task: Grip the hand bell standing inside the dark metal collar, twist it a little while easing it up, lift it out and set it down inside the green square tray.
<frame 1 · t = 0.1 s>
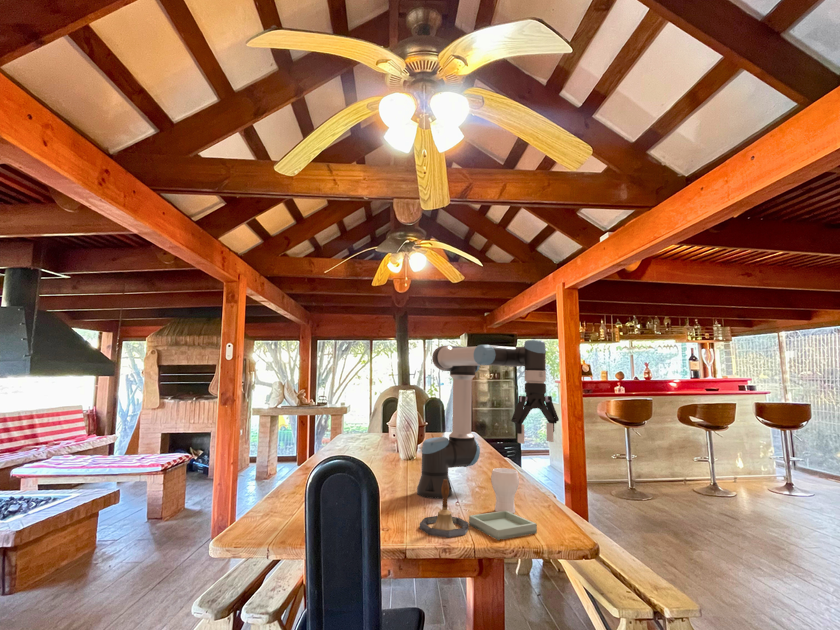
hand: (535, 442, 159), 28 cm above the table, tool pointing down, fingers open, 13 cm apart
green square tray: (502, 528, 150), on the table
cup: (505, 511, 170), on the table
collar: (444, 528, 149), on the table
hand bell: (444, 529, 149), resting in collar
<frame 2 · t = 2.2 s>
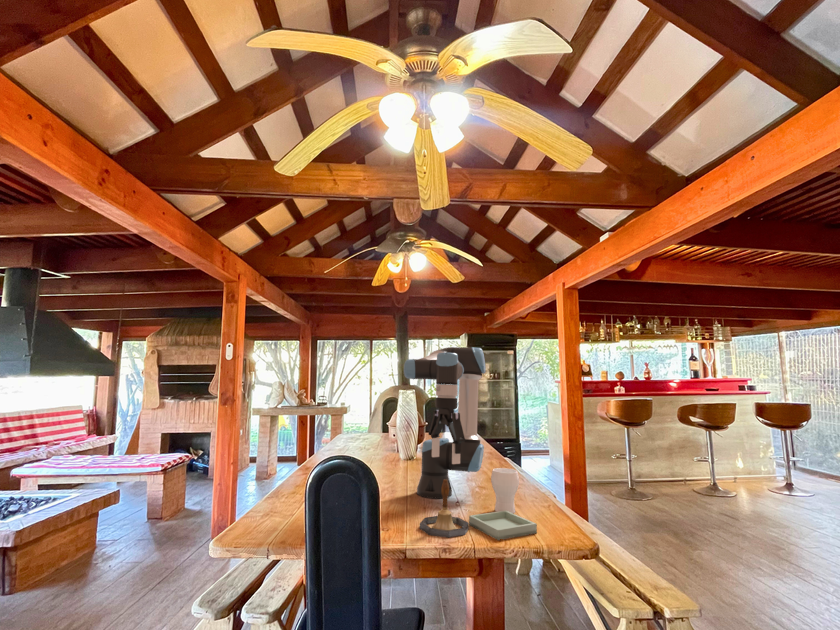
hand: (445, 460, 152), 22 cm above the table, tool pointing down, fingers open, 13 cm apart
nothing on the table moved.
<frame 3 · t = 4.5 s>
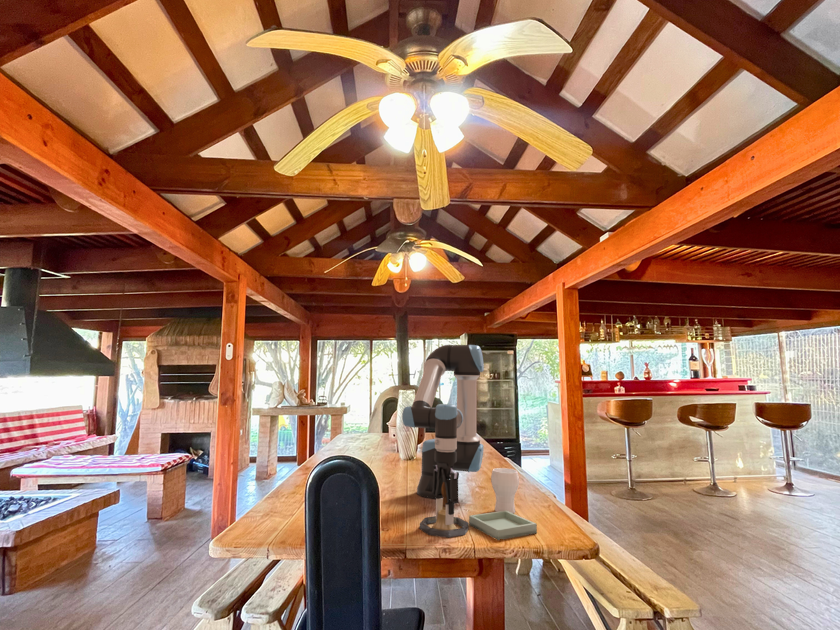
hand: (444, 521, 149), 2 cm above the table, tool pointing down, fingers closed on hand bell, 6 cm apart
hand bell: (444, 529, 149), resting in collar, touching gripper
everything else where it was.
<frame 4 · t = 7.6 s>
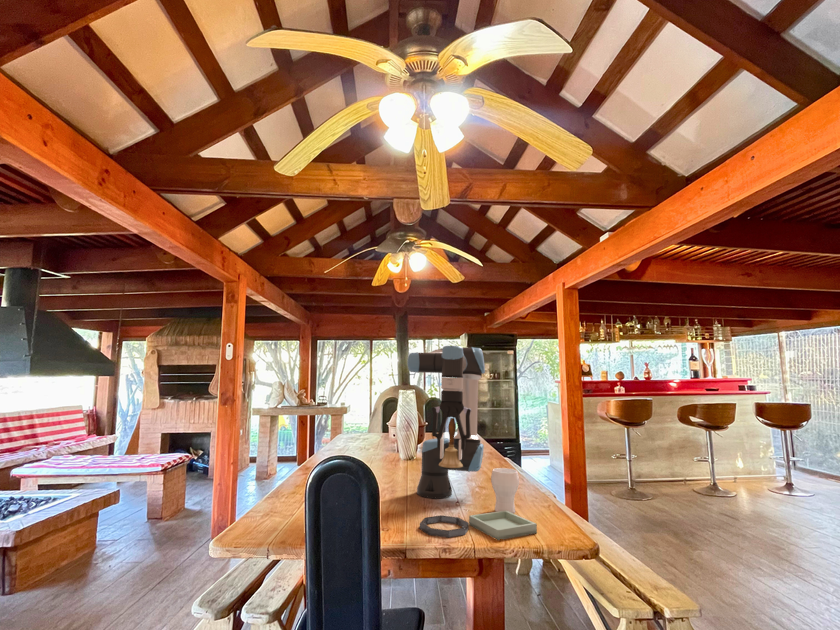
hand: (450, 458, 152), 23 cm above the table, tool pointing down, fingers closed on hand bell, 6 cm apart
hand bell: (450, 466, 152), point 20 cm above the table, touching gripper
everything else where it was.
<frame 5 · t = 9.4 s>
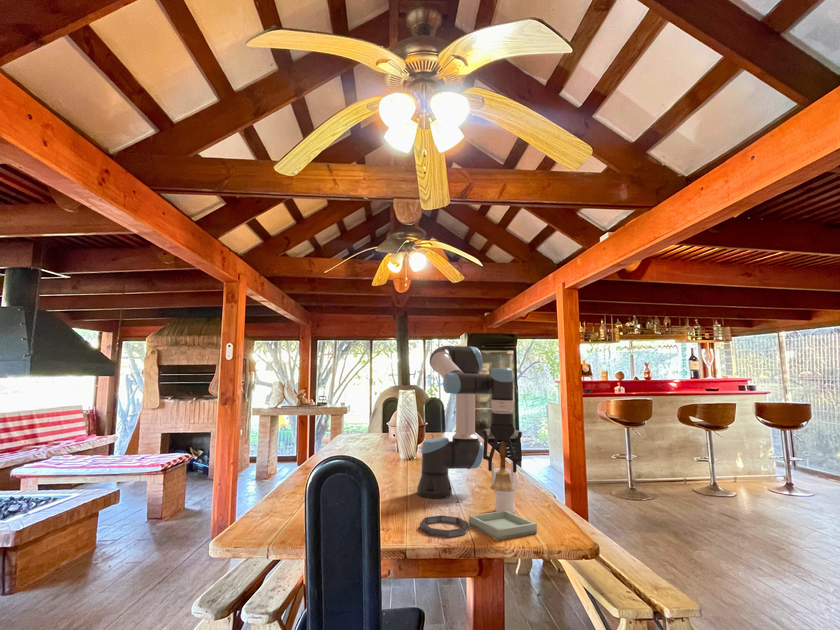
hand: (502, 481, 152), 15 cm above the table, tool pointing down, fingers closed on hand bell, 6 cm apart
hand bell: (502, 489, 151), point 13 cm above the table, touching gripper
everything else where it was.
when the fingers open (5 cm above the table, at t = 11.1 s): hand bell drops 1 cm, resting on green square tray.
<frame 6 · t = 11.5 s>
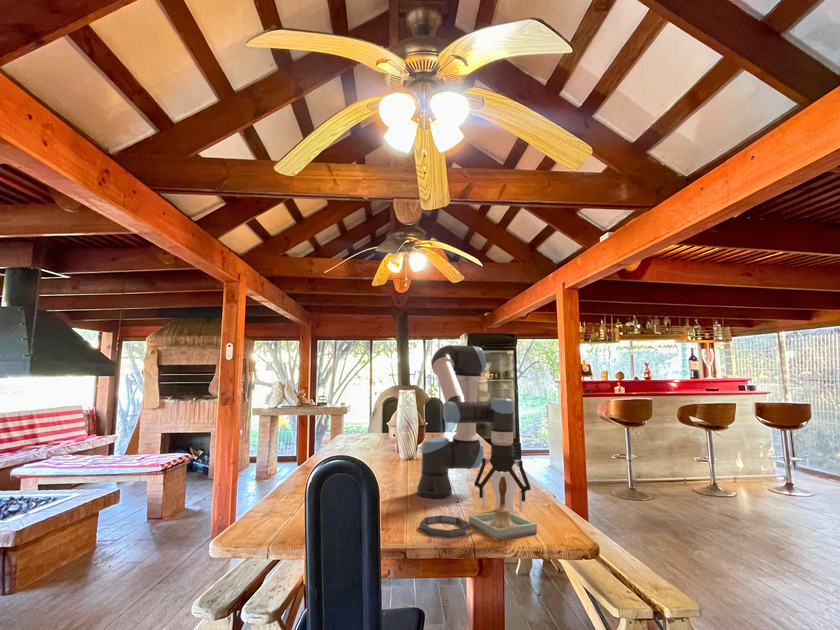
hand: (502, 509, 151), 6 cm above the table, tool pointing down, fingers open, 11 cm apart
hand bell: (502, 526, 150), point 1 cm above the table, touching green square tray
everything else where it was.
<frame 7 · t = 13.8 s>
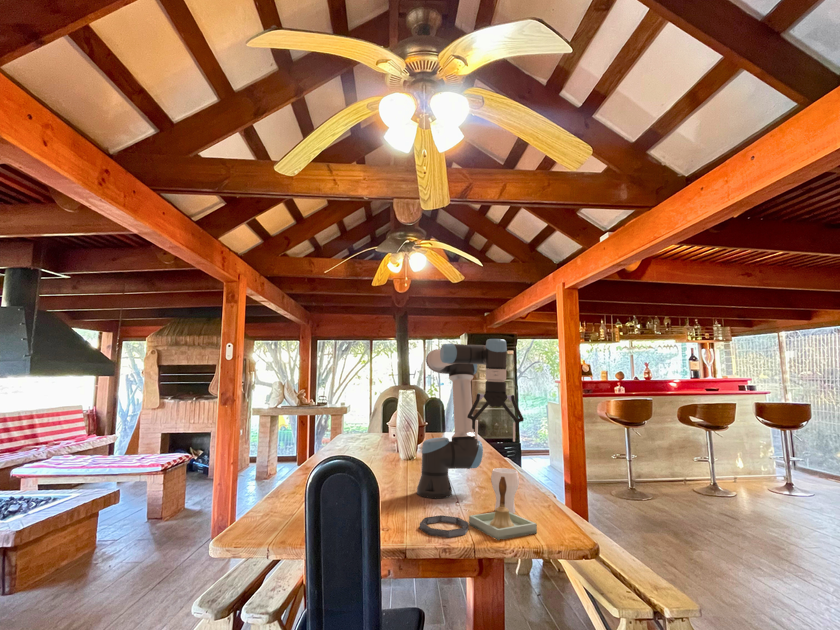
hand: (495, 439, 161), 28 cm above the table, tool pointing down, fingers open, 13 cm apart
nothing on the table moved.
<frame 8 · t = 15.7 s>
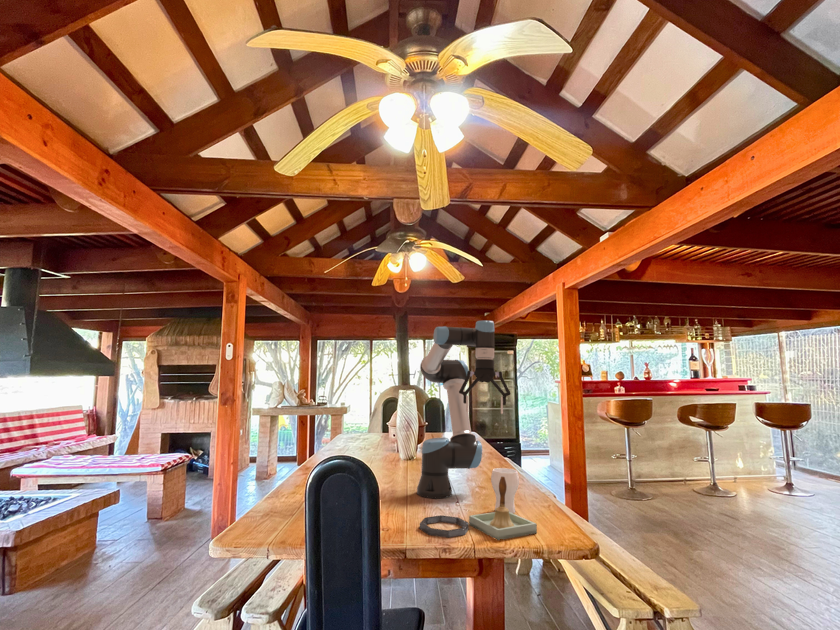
hand: (484, 412, 176), 37 cm above the table, tool pointing down, fingers open, 13 cm apart
nothing on the table moved.
at the end: hand bell inside the target area on the green square tray (0.0 cm from its centre), point 0.8 cm above the green square tray's base; hand bell tilted 0°; the gripper is holding nothing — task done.
